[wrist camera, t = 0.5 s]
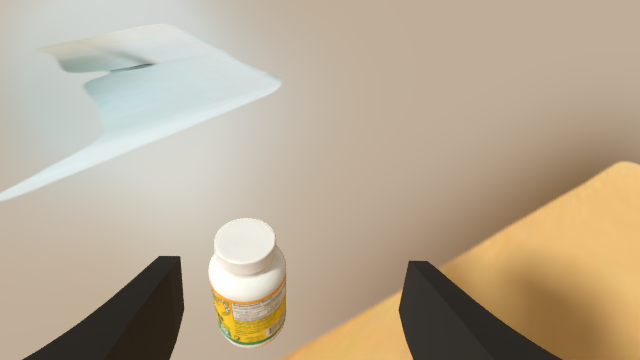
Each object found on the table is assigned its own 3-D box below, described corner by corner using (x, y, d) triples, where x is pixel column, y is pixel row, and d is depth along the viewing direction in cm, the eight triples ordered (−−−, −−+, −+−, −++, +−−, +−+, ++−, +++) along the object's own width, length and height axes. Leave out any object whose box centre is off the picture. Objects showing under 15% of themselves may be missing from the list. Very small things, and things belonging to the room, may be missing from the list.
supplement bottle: (288, 345, 29) (290, 269, 23) (217, 354, 29) (199, 278, 22) (282, 286, 33) (282, 207, 27) (219, 292, 33) (205, 213, 26)
